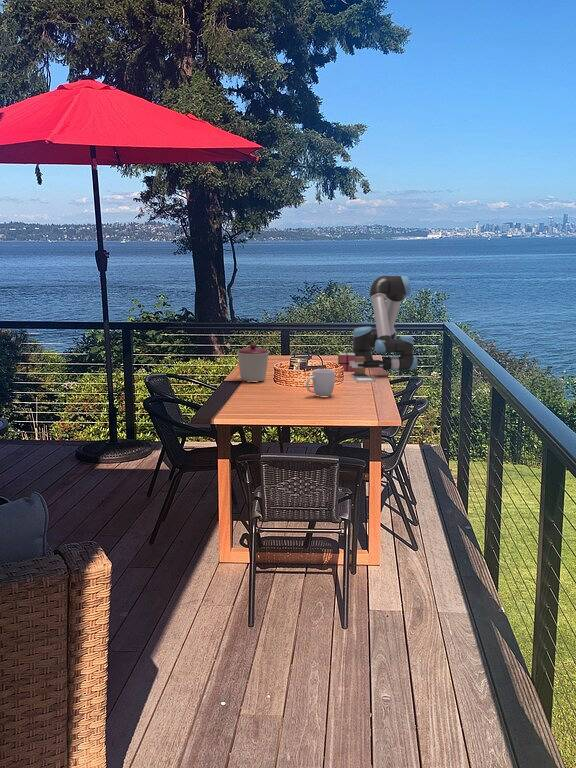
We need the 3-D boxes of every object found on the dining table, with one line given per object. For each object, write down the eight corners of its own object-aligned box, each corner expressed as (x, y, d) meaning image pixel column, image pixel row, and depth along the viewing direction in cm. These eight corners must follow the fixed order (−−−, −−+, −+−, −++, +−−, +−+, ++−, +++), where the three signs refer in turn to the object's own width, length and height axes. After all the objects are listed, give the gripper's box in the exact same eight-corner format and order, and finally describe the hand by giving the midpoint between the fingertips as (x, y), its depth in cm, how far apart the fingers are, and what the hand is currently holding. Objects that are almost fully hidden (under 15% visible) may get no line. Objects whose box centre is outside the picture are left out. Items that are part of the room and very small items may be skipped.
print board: (352, 378, 451) (352, 377, 451) (371, 378, 453) (371, 377, 453) (357, 382, 440) (357, 380, 440) (376, 381, 442) (376, 380, 442)
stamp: (354, 374, 459) (354, 356, 457) (362, 373, 460) (363, 356, 458) (356, 375, 454) (356, 358, 452) (364, 375, 455) (365, 357, 453)
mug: (311, 399, 392) (311, 373, 390) (301, 395, 402) (302, 370, 400) (338, 397, 398) (338, 371, 396) (328, 393, 408) (328, 368, 406)
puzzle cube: (355, 371, 475) (355, 355, 473) (338, 371, 475) (338, 355, 474) (354, 369, 485) (354, 352, 483) (337, 369, 485) (338, 352, 483)
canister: (268, 384, 432) (268, 345, 429) (235, 383, 433) (234, 345, 429) (270, 378, 450) (270, 341, 446) (238, 378, 451) (238, 341, 447)
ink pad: (350, 375, 461) (350, 373, 461) (365, 375, 462) (365, 373, 462) (353, 378, 452) (353, 376, 452) (369, 378, 454) (369, 375, 453)
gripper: (394, 372, 451) (354, 373, 447) (385, 367, 468) (347, 368, 464) (395, 359, 449) (354, 360, 446) (386, 354, 467) (347, 355, 463)
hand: (350, 364), depth 455 cm, fingers closed on stamp, 5 cm apart
